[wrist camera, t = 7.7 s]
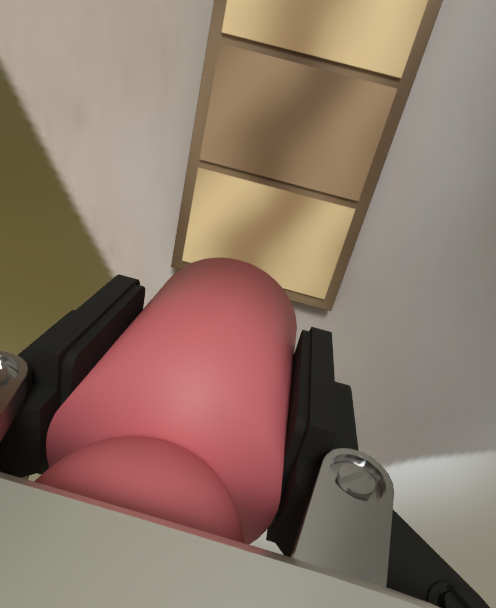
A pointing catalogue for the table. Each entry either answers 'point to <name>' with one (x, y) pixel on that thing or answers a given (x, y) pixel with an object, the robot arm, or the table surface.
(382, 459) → the table surface
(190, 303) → the pawn
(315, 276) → the board
